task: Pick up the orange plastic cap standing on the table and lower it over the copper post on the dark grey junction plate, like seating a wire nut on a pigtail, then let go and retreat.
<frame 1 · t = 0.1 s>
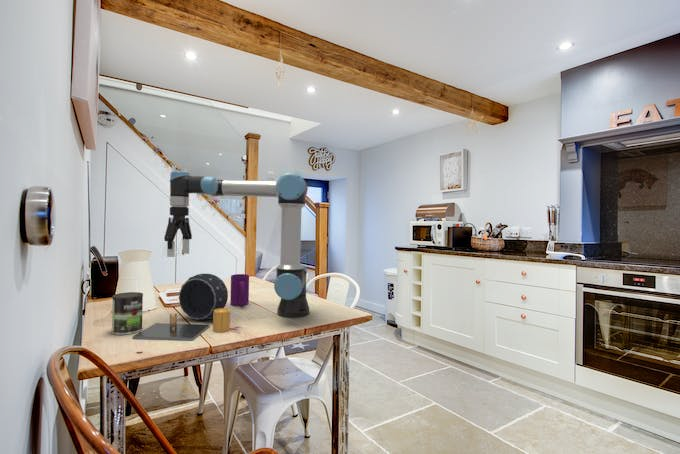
hand: (178, 255, 154), 28 cm above the table, fingers open, 13 cm apart
studded dark pot: (203, 319, 154), on the table
coffee can: (127, 331, 137), on the table
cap: (221, 329, 140), on the table
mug: (240, 306, 179), on the table
junction plate: (173, 332, 136), on the table
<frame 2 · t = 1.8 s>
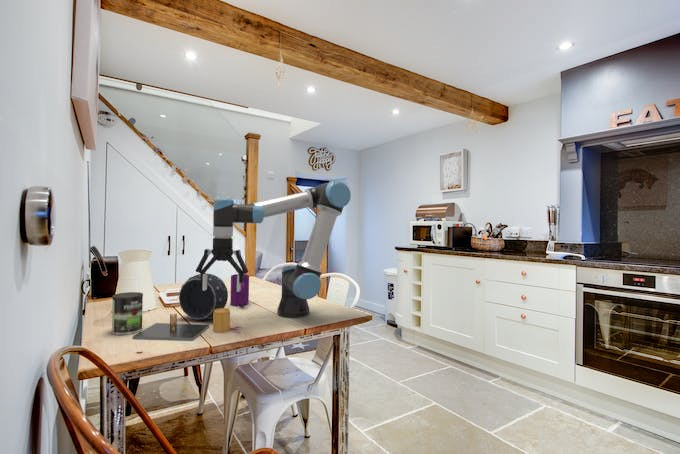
hand: (221, 290, 140), 16 cm above the table, fingers open, 13 cm apart
nothing on the table moved.
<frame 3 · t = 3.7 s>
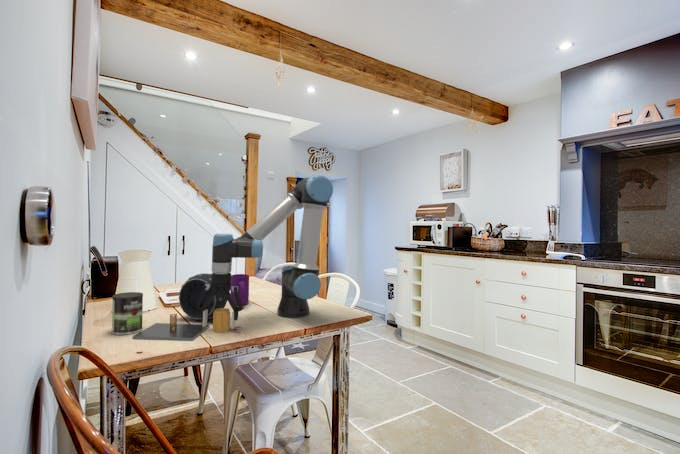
hand: (218, 327, 140), 1 cm above the table, fingers open, 11 cm apart
nothing on the table moved.
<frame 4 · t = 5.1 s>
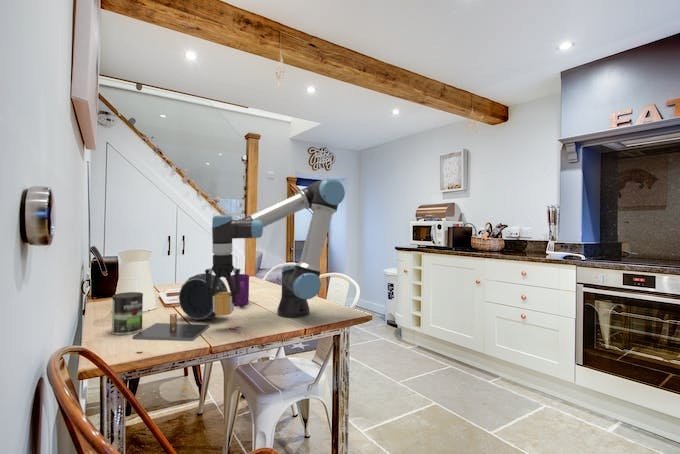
hand: (223, 311, 141), 7 cm above the table, fingers closed on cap, 6 cm apart
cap: (223, 313, 141), point 7 cm above the table, touching gripper
everything else where it was.
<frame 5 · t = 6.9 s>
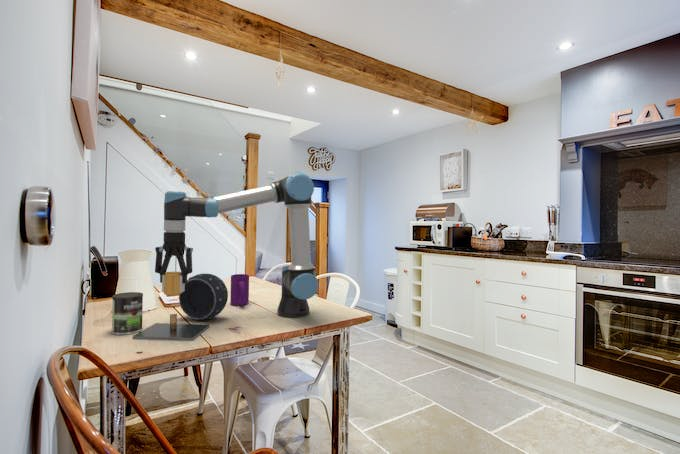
hand: (173, 291, 135), 16 cm above the table, fingers closed on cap, 6 cm apart
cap: (173, 293, 135), point 15 cm above the table, touching gripper
everything else where it was.
when the fingers open (2 cm above the table, at t = 9.2 s): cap stays where it is, resting on junction plate.
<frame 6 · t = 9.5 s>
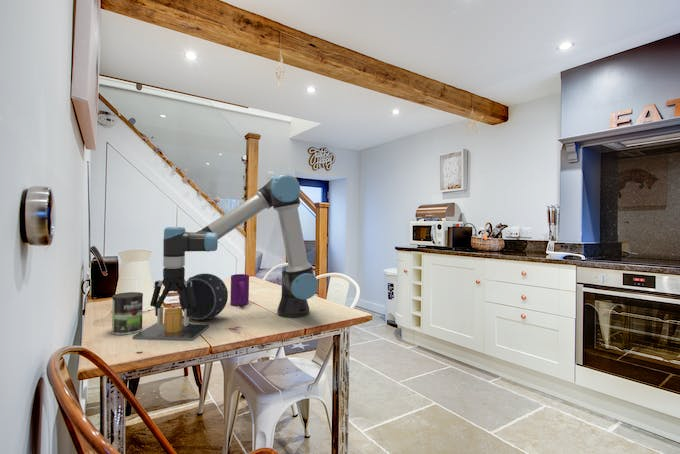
hand: (173, 324, 136), 3 cm above the table, fingers open, 9 cm apart
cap: (173, 330, 136), point 1 cm above the table, touching junction plate
everything else where it was.
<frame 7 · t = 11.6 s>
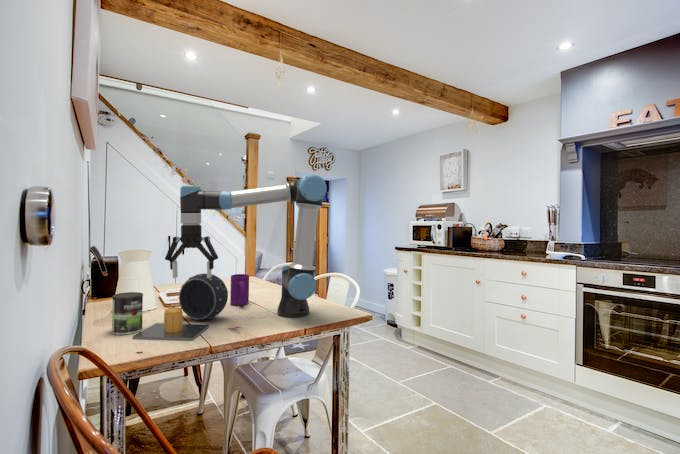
hand: (192, 277, 140), 21 cm above the table, fingers open, 13 cm apart
nothing on the table moved.
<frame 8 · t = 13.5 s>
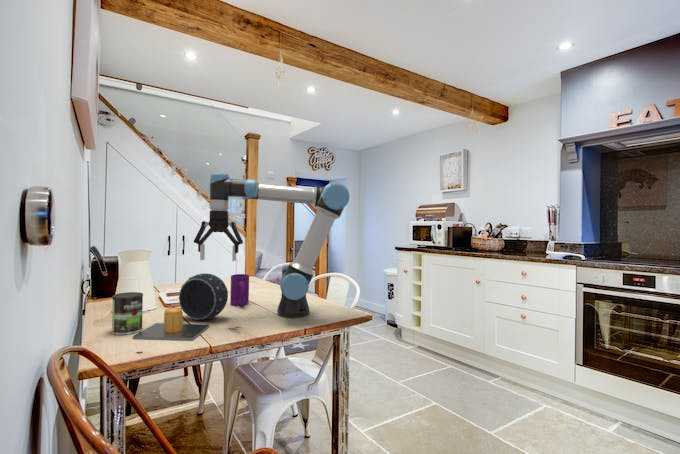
hand: (218, 260, 149), 27 cm above the table, fingers open, 13 cm apart
nothing on the table moved.
at the end: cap 0.0 cm off-centre on the junction plate, point 1.0 cm above the junction plate's base; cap tilted 0°; the gripper is holding nothing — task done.
